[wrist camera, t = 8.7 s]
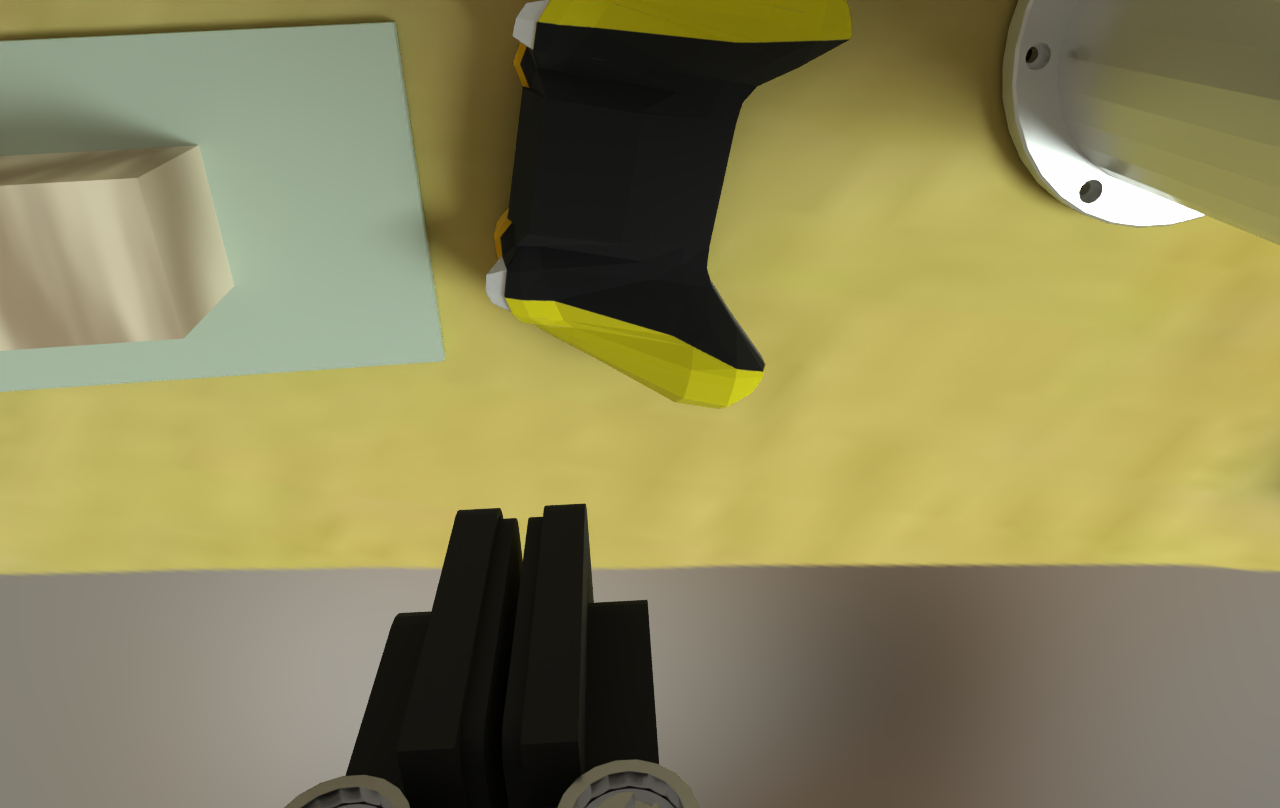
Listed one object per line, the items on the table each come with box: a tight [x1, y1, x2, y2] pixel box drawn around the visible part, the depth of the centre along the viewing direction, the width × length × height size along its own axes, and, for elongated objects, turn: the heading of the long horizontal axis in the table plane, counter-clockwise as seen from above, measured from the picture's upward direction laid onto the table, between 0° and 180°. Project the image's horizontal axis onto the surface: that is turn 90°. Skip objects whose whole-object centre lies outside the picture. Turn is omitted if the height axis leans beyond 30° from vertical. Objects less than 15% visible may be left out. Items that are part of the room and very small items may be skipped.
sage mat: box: [0, 22, 445, 392], centre depth 32 cm, size 20×12×1 cm, turn 92°
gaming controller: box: [486, 0, 852, 409], centre depth 30 cm, size 15×6×10 cm
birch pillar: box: [0, 145, 234, 351], centre depth 29 cm, size 5×5×12 cm
